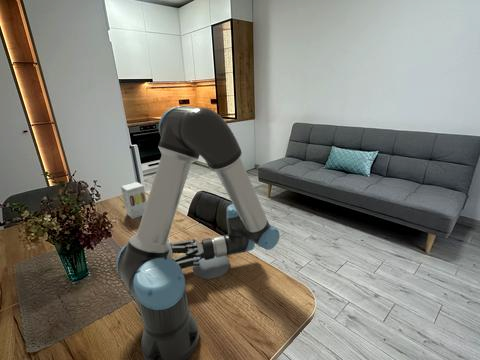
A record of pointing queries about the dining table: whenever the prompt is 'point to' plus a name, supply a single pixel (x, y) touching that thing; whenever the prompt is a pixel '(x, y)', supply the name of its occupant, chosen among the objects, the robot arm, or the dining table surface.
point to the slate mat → (212, 268)
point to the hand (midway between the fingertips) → (148, 260)
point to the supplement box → (134, 199)
